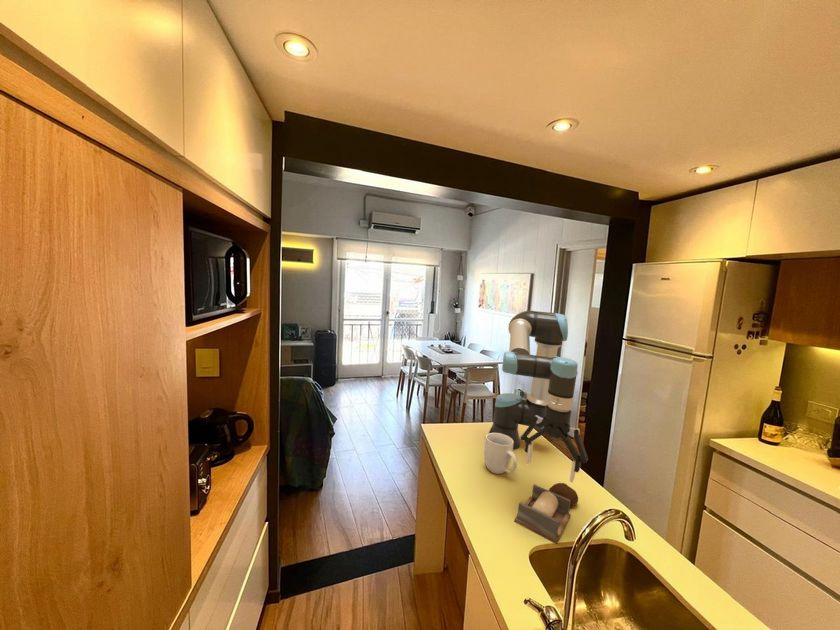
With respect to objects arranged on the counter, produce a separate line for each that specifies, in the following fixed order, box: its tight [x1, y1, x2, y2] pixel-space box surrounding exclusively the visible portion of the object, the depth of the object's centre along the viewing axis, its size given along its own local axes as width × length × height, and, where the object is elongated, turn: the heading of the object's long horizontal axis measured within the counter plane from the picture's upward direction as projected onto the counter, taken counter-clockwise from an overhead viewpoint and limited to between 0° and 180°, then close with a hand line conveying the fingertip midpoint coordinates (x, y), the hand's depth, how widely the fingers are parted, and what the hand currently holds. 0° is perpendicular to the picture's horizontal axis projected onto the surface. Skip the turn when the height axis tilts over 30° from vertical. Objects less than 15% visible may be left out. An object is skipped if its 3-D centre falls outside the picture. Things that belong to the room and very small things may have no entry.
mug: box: [483, 432, 518, 475], centre depth 134 cm, size 15×11×13 cm
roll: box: [531, 492, 558, 517], centre depth 108 cm, size 10×6×6 cm, turn 143°
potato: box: [548, 482, 579, 507], centre depth 118 cm, size 7×10×7 cm
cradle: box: [514, 483, 572, 544], centre depth 108 cm, size 16×13×6 cm
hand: (549, 471), depth 107 cm, fingers open, 13 cm apart
